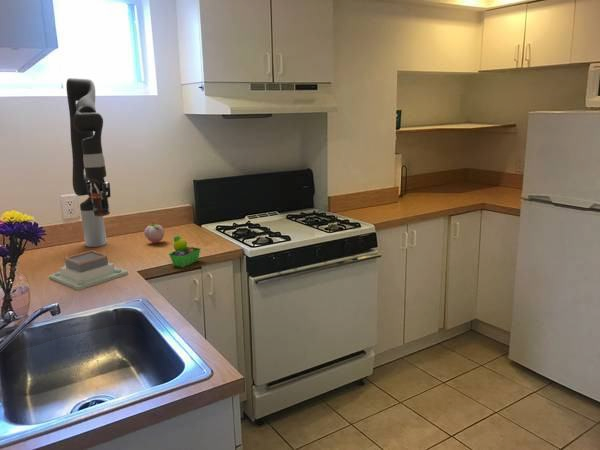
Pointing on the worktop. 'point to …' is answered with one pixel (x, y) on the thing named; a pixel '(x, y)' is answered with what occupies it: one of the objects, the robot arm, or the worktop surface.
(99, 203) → the supplement bottle
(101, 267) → the stacked grey pedestal
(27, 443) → the worktop surface
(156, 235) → the decorative fruit
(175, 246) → the fruit basket
